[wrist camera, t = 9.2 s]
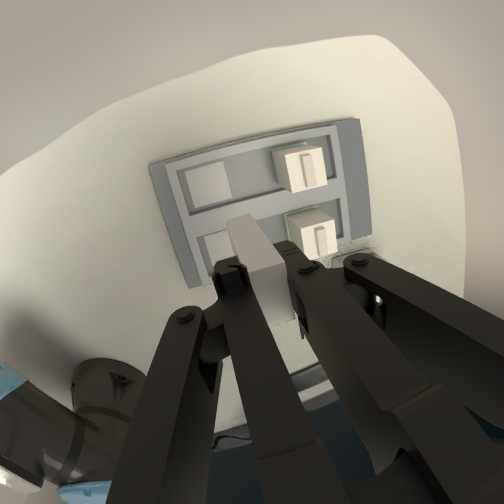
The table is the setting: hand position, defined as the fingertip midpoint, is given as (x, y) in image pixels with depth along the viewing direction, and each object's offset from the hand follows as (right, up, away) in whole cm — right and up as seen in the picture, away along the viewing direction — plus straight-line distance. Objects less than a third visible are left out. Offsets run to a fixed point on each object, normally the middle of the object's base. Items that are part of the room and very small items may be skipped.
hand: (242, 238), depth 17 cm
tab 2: (+7, +2, +20) cm, 21 cm away
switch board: (+3, +6, +20) cm, 21 cm away
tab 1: (+5, +9, +16) cm, 20 cm away
